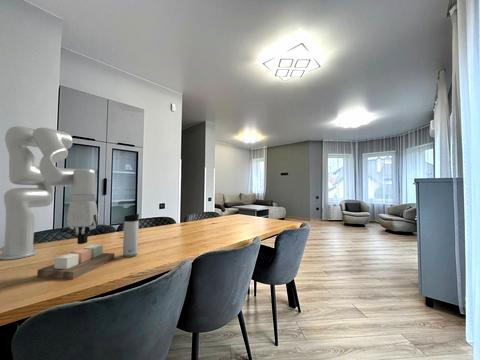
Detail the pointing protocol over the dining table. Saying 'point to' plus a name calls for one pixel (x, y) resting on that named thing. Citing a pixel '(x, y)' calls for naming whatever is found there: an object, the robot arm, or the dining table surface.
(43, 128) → the robot arm
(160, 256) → the dining table surface
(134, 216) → the travel mug
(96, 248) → the sage key
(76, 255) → the cream key
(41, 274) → the walnut panel
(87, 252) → the terracotta key
